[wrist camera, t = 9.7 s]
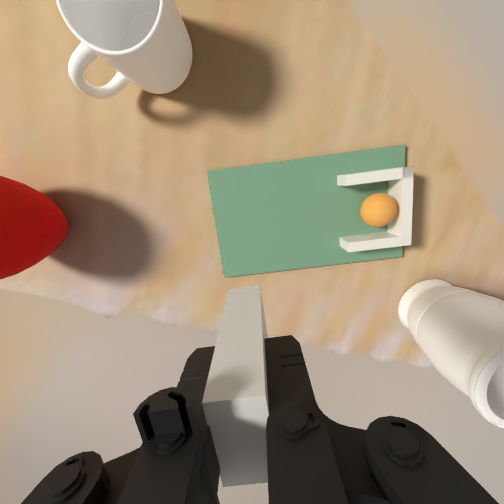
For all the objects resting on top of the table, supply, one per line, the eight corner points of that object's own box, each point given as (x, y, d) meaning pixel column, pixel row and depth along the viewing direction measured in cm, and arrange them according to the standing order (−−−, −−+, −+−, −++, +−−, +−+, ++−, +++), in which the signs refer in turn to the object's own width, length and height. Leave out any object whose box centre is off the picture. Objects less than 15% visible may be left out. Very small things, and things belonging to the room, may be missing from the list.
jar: (392, 343, 38) (475, 440, 24) (386, 280, 36) (475, 346, 21) (465, 329, 38) (597, 421, 23) (464, 264, 35) (612, 321, 21)
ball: (354, 196, 33) (365, 196, 29) (387, 190, 32) (403, 189, 28) (357, 227, 33) (368, 231, 29) (390, 222, 33) (405, 225, 29)
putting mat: (207, 171, 32) (207, 171, 32) (402, 145, 31) (405, 144, 31) (224, 275, 36) (224, 277, 35) (399, 255, 35) (402, 256, 34)
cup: (209, 56, 29) (186, -8, 19) (140, 135, 31) (89, 114, 21) (153, -10, 28) (98, -115, 18) (85, 79, 30) (3, 29, 20)
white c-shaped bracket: (337, 175, 32) (346, 174, 29) (398, 167, 31) (413, 165, 28) (339, 246, 34) (348, 252, 31) (396, 239, 34) (411, 245, 31)
